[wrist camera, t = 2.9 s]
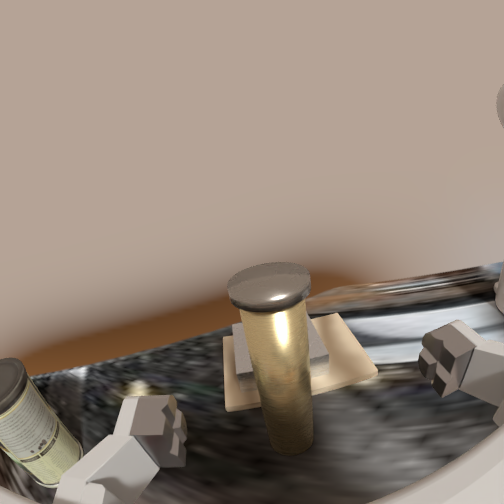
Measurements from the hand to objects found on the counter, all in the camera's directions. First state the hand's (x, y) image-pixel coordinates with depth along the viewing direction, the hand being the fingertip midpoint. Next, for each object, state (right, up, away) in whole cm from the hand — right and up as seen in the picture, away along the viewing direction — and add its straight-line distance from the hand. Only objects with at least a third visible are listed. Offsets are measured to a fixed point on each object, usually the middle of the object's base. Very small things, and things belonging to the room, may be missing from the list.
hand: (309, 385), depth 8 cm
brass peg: (+3, -17, +19) cm, 25 cm away
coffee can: (-27, -23, +14) cm, 39 cm away
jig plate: (+4, -12, +32) cm, 34 cm away
